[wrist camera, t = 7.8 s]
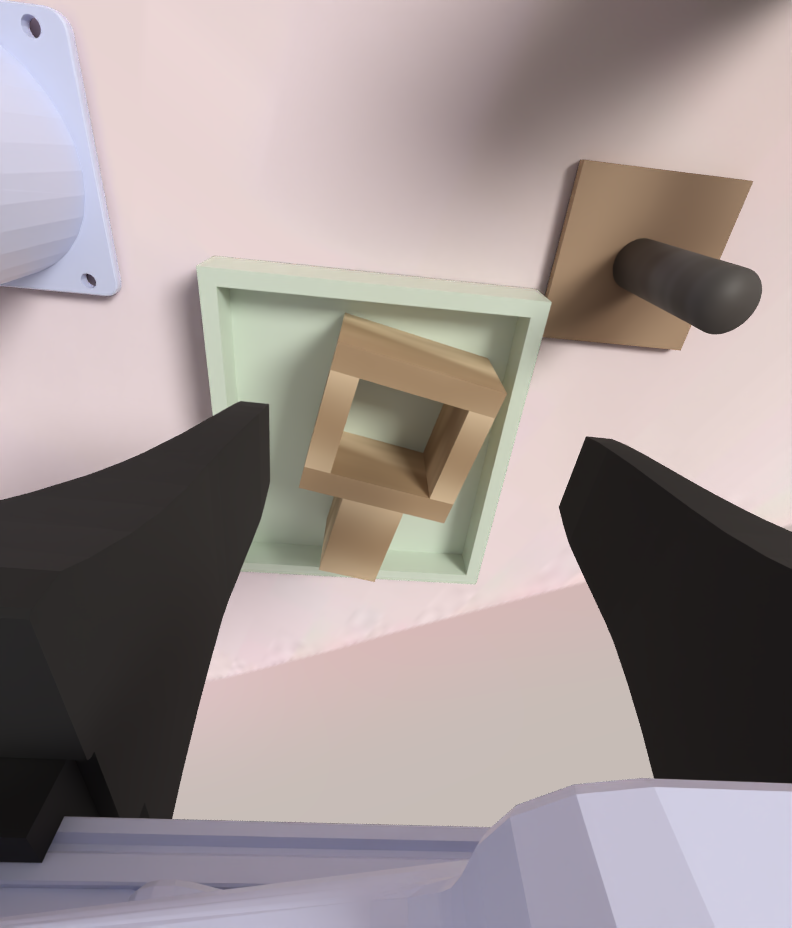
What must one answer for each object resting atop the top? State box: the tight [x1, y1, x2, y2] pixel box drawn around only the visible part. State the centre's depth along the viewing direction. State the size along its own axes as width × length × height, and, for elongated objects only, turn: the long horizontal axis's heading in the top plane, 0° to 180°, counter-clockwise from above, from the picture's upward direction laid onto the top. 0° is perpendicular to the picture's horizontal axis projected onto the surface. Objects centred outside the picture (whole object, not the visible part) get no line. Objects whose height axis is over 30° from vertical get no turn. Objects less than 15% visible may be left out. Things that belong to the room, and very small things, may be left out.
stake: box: [543, 160, 762, 350], centre depth 16 cm, size 6×6×6 cm
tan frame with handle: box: [299, 313, 507, 582], centre depth 20 cm, size 10×6×4 cm, turn 162°
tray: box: [196, 256, 552, 584], centre depth 21 cm, size 12×14×2 cm
